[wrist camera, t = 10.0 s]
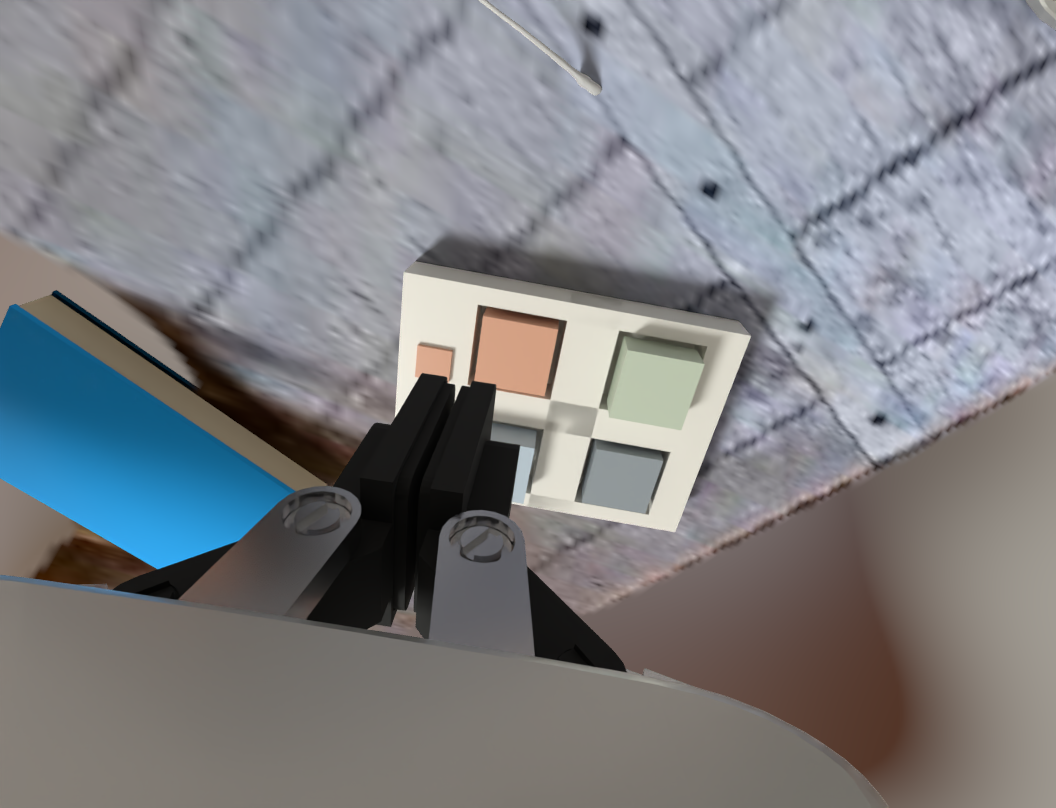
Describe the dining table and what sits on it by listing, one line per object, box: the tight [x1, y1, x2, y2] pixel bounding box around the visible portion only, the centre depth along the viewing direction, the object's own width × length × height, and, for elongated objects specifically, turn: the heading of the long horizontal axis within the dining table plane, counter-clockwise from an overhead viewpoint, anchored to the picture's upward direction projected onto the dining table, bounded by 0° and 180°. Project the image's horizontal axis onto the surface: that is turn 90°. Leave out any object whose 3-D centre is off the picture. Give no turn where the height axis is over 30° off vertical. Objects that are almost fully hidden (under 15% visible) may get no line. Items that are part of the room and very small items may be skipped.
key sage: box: [607, 336, 705, 430], centre depth 37 cm, size 5×5×2 cm
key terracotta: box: [474, 306, 559, 396], centre depth 38 cm, size 5×5×2 cm
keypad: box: [395, 261, 751, 532], centre depth 40 cm, size 23×17×3 cm
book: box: [0, 290, 327, 569], centre depth 46 cm, size 17×4×25 cm
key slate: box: [581, 438, 663, 514], centre depth 42 cm, size 5×5×2 cm
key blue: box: [491, 423, 537, 504], centre depth 41 cm, size 5×5×2 cm
